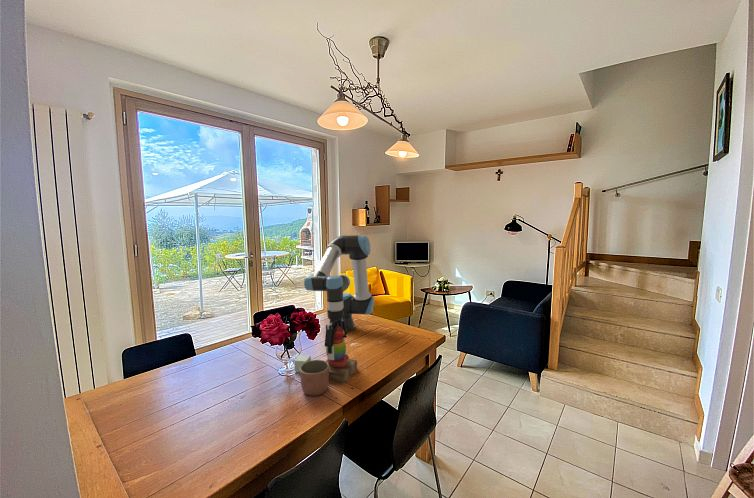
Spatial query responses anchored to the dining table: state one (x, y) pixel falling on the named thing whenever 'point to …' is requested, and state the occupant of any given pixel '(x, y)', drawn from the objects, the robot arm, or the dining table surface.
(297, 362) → the block
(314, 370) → the planter
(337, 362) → the stacking bear
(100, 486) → the dining table surface
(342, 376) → the plinth
